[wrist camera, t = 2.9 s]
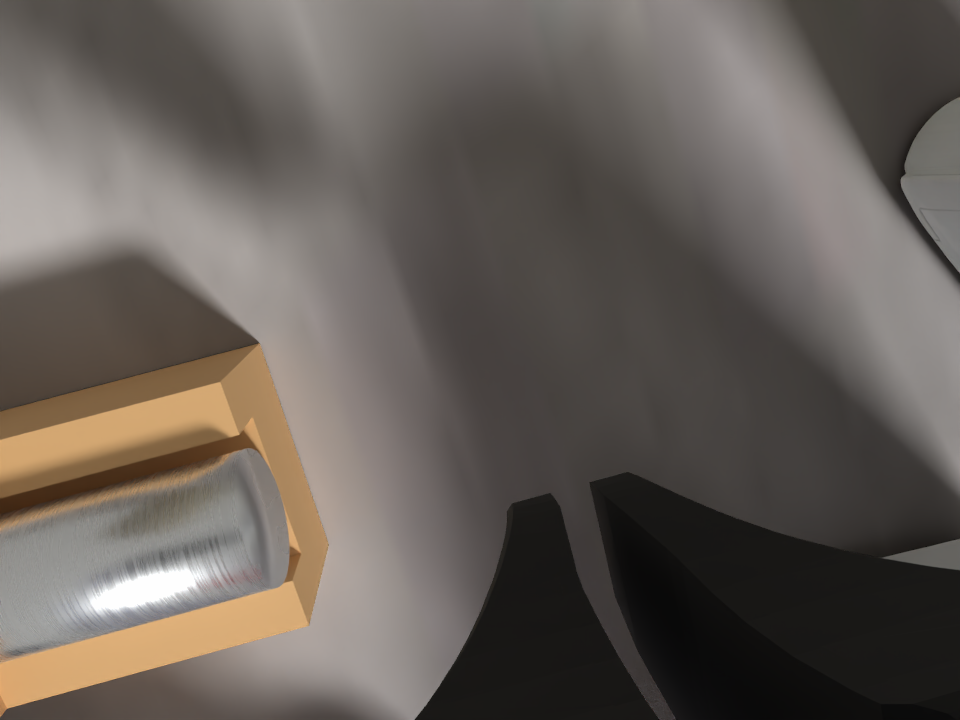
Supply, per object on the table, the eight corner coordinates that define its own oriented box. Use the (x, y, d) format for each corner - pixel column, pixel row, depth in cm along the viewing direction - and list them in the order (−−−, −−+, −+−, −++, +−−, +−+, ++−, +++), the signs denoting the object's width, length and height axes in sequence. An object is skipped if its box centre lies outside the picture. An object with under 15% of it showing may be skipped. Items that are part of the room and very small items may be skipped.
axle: (256, 428, 16) (220, 483, 13) (297, 541, 16) (272, 618, 14) (-177, 543, 15) (-315, 626, 13) (-115, 653, 16) (-230, 755, 13)
